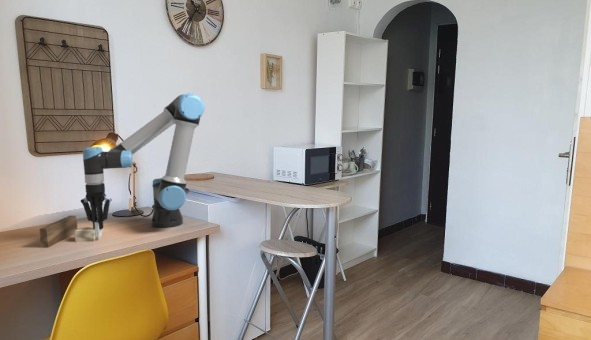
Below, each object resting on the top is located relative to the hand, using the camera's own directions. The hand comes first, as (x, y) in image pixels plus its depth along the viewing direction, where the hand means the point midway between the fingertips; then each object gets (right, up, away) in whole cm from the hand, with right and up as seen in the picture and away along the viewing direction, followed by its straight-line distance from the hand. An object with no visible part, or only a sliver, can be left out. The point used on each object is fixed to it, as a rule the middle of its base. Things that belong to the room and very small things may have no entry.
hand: (98, 236), depth 189 cm
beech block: (-5, -2, +1) cm, 5 cm away
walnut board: (-18, -2, +1) cm, 18 cm away
